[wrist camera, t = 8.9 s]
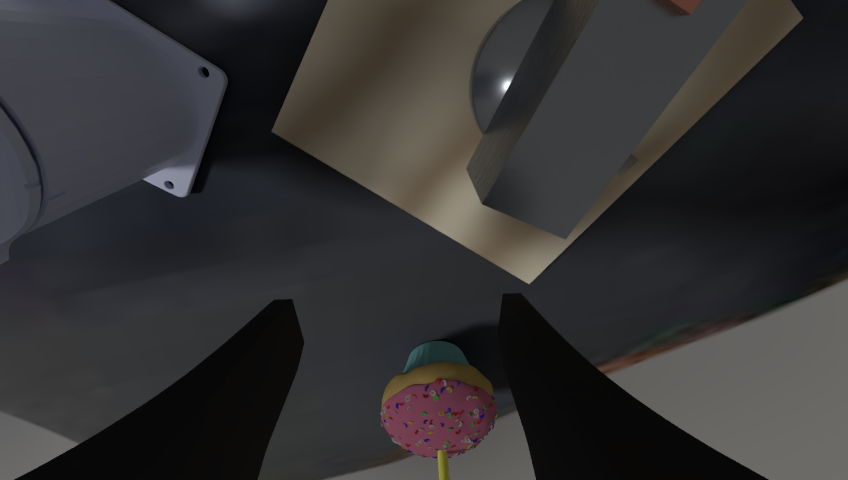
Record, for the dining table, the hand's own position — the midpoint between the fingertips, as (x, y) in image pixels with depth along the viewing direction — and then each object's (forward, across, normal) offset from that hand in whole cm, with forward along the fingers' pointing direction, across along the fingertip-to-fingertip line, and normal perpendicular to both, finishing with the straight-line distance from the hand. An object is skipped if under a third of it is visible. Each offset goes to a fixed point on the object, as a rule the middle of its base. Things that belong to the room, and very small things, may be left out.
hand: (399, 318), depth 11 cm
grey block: (+6, -6, -7) cm, 11 cm away
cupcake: (+11, -2, +15) cm, 18 cm away
